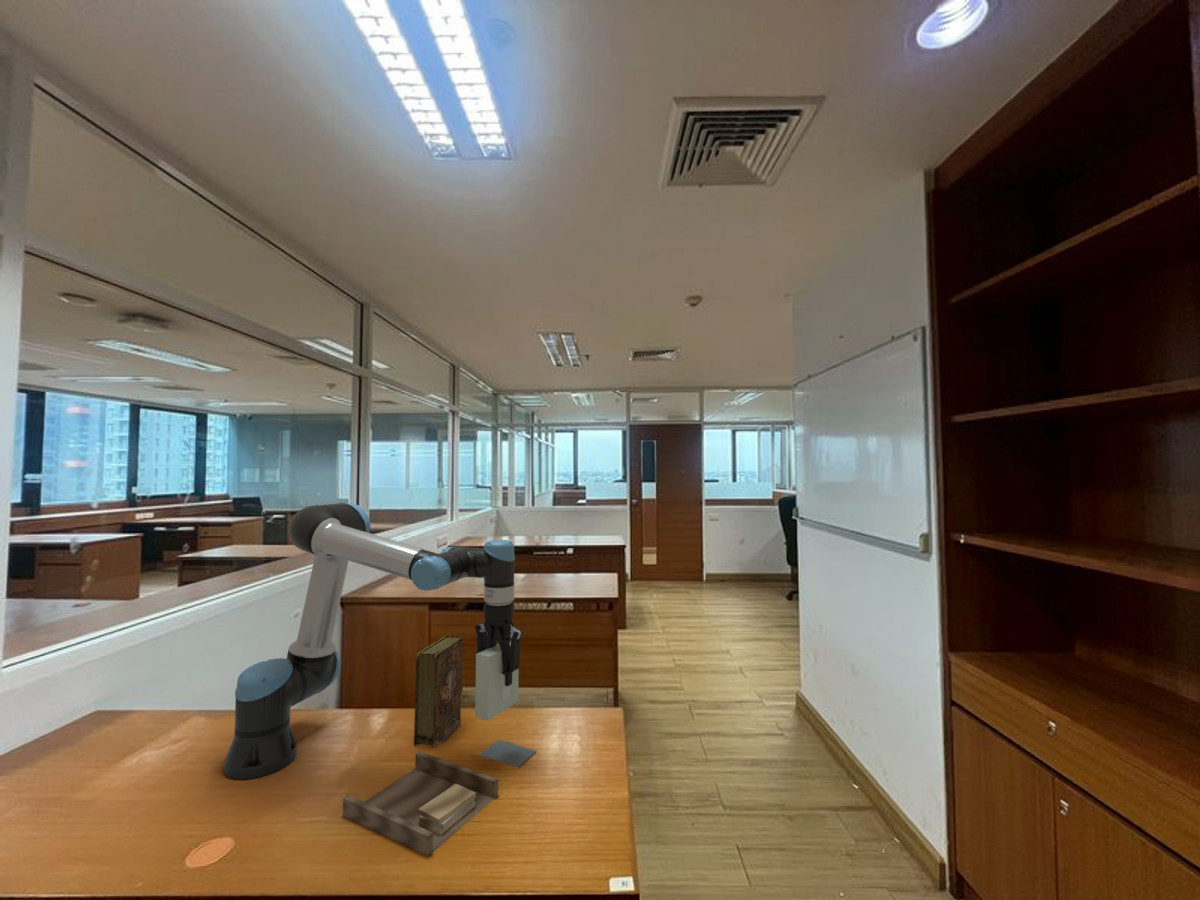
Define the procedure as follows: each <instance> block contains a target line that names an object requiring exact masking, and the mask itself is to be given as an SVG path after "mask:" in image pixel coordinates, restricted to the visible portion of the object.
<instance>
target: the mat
mask: <svg viewBox="0 0 1200 900" xmlns="http://www.w3.org/2000/svg"><path fill="white" fill-rule="evenodd" d="M536 754H537V750H534V749H531V748H528V747H525V746H521V745H518V744H514V743H512V742H508V741H505V740H501V739H499V740H497V741H496V742H494V743H493V744H492V745H490V746H489V747H488V748H486V749H485V750H484V751H482V752H480V753H479V756H481V757H484V758H487V759H490V760H494V761H496V762H499V763H502V764H505V765H509V766H511V767H515V768H517V769H519V768H520V767H521V766H522V765H524V764H525V763H526V762H527V761H528V760H529V759H531V758H532V757H533V756H534V755H536Z"/></svg>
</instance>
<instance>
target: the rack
mask: <svg viewBox="0 0 1200 900" xmlns="http://www.w3.org/2000/svg"><path fill="white" fill-rule="evenodd" d="M414 759H415V762H414V764H415V765H414V766H415V767H414V769H412V770H411V771H409V772H408V773H406V774H405V775H402V777H400V778H399V779H397V780H396V781H394V782H393V783H390V785H388V786H387V787H385V788H383V789H382V790H380V791H379V792H377V793H376V794H374V795H372V796H371V797H369V798H368V799H366V800H365V801H363V800H361V799H358V798H356V797H354V796H351V795H350V794H348V795H346V796H345V797H343V801H342V806H343V807H342V817H343V818H346V819H348V820H351V821H352V822H354V823H356V824H359V825H361V826H363V827H365V828H367V829H369V830H371V831H373V832H375V833H378V834H380V835H382V836H385V837H386V838H388V839H390V840H392V841H395V842H396V843H398V844H400V845H403V846H404V847H407V848H409V849H411V850H414V851H416V852H418V853H420V854H422V855H424V856H426V857H429V856H430V855H432V853H434V852H435V851H436V850H438V848H440V847H441V846H442V845H443V844H445V842H447V840H449V839H450V838H451V837H452V836H453V835H454V834H456V833H457V832H458V831H459V830H460V829H461V828H463V827H464V826H465V825H466V824H467V823H469V821H470V820H472V819H473V818H474V817H476V815H478V814H479V813H480V812H481V811H482V810H483V809H484V808H486V807H487V805H489V804H490V803H492V802H493V800H495V799H496V798H497V797H498V796H499V778H497V777H494V776H491V775H487V774H485V773H482V772H478V770H477V771H476V770H475V769H474V770H473V769H471V768H469V767H465V766H462V765H459V764H456V763H454V762H451V761H448V760H445V759H442V758H439V757H438V756H437V757H436V756H434V755H431V754H429V753H425V752H422V751H418V752H416V753H415V758H414ZM455 784H458V785H460V786H462V787H465V788H467V789H469V790H471V791H473V792H476V798H474V801H475V807H473V808H472V809H471V810H470V811H469V812H467V813H466V814H465V815H464V816H463V817H462V818H460V819H459V820H458V821H457V822H456V823H454V824H453V825H452V826H451V827H450V828H449V829H447V830H446V831H445V832H444V833H443V834H441V835H439V834H437V833H434V832H432V831H430V830H428V829H425V828H423V827H421V826H419V825H418V822H419V816H421V815H419V814H418V809H419V808H420V807H422V806H423V805H425V804H426V803H428V802H429V801H431V800H432V799H434V798H435V797H437V796H438V795H440V794H441V793H443V792H444V791H446V790H447V789H449V788H450V787H452V786H453V785H455Z"/></svg>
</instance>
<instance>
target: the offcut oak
mask: <svg viewBox="0 0 1200 900" xmlns="http://www.w3.org/2000/svg"><path fill="white" fill-rule="evenodd" d="M474 798H476V792H473V791H471V790H469V789H467V788H465V787H462V786H460V785H458V784H455V785H453V786H452V787H450V788H449V789H447V790H446V791H444V792H443V793H441V794H440V795H438V796H437V797H435V798H434V799H432V800H431V801H429V802H428V803H426V804H425V805H423V806H422V807H420V808H419V809H418V814H419V815H421V816H423V817H425V818H427V819H429V820H431V821H433V822H435V823H436V824H438V825H439V824H440V823H442V822H443V821H444V820H446V819H447V818H449V817H450V816H451V815H453V814H454V813H455V812H457V811H458V810H459V809H461V808H462V807H464V806H465V805H466V804H468V803H469V802H470V801H472V800H473V799H474Z"/></svg>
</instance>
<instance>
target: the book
mask: <svg viewBox="0 0 1200 900" xmlns="http://www.w3.org/2000/svg"><path fill="white" fill-rule="evenodd" d="M462 657H463V636H460V635H444V636H443V637H441V638H440V639H438V640H437V641H435V642H433V643H432V644H430V645H428V646H427V647H425V648H424V649H422V650H420V651H419V652H418V653H417V654H416V657H415V658H416V660H415V662H416V663H415V690H414V691H415V694H414V695H415V696H414V727H413V728H414V731H413V746H414V747H416V746H417V745H423V744H426V745H429V746H431V748H432V749H433V748H435V747H436V746H437V745H438V744H439V743H442V744H444V743H446V741H447V740H448V739H449V738H450V737H452V735H453V734H454V733H455V732H456V731H457V730H458V729H459V728H460V727H461V718H462V717H461V715H462V713H461V711H462V709H461V708H462V666H463V659H462Z"/></svg>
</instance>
